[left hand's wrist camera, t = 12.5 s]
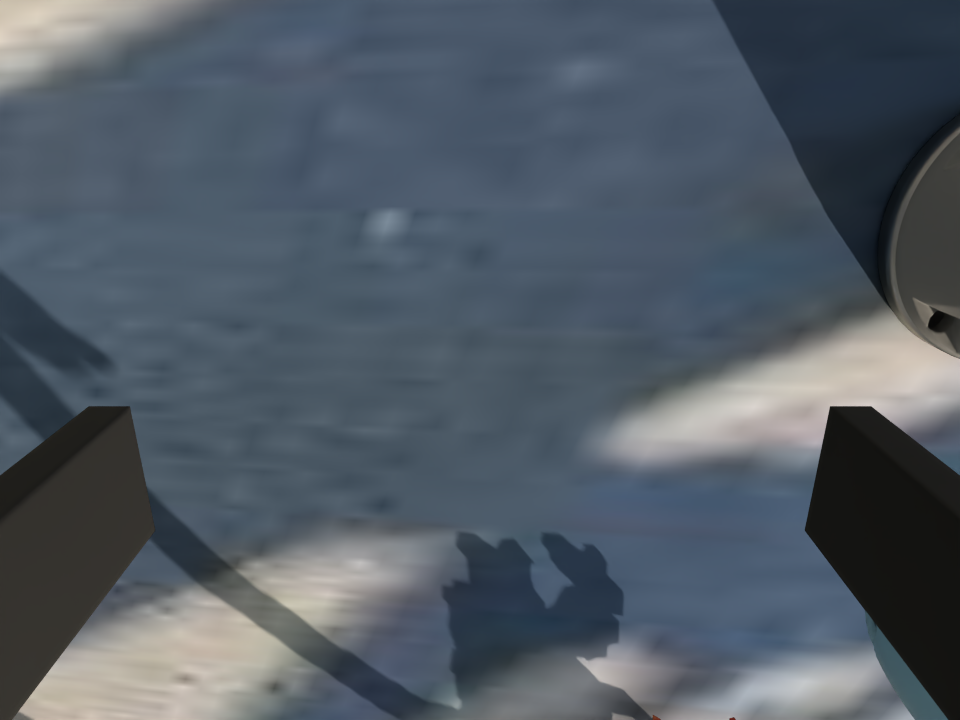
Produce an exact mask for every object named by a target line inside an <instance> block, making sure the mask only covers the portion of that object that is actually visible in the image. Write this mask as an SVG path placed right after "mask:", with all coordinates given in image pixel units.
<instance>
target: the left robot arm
mask: <svg viewBox="0 0 960 720" xmlns="http://www.w3.org/2000/svg"><path fill="white" fill-rule="evenodd" d="M878 269H879V276H880V281H881V285H882V288H883V292H884V294H885V297H886V299H887V301H888V303H889V305H890V307H891V309H892V311H893V312H894V313H895V315H896V316H897V318H898V319H899V320H900V321H901V323H902V324H903V325H904V326H905V327H906V328H907V329H908V330H910V331H911V332H912V333H913V334H914V335H916V336H917V337H919V338H920V339H922V340H923V341H925V342H927V343H928V344H930V345H932V346H934V347H936V348H938V349H940V350H941V351H943V352H945V353H947V354H949V355H951V356H954V357H956V358H959V359H960V114H959V115H957V116H956V117H955V118H954V119H952V120H951V121H950V122H948V123H947V124H946V125H945V126H944V127H942V128H941V129H940V130H939V131H938V132H937V133H936V134H935V135H934V136H933V137H932V138H931V139H930V140H929V141H928V142H927V143H926V144H925V145H924V146H923V147H922V148H921V150H920V151H919V152H918V153H917V155H916V156H915V157H914V158H913V160H912V161H911V162H910V164H909V165H908V167H907V168H906V170H905V171H904V173H903V174H902V176H901V178H900V180H899V181H898V183H897V185H896V187H895V189H894V191H893V193H892V195H891V198H890V200H889V202H888V205H887V208H886V211H885V213H884V217H883V221H882V224H881V229H880V235H879V241H878ZM154 531H155V527H154V522H153V517H152V512H151V507H150V502H149V498H148V493H147V488H146V483H145V478H144V473H143V468H142V463H141V459H140V454H139V449H138V444H137V439H136V434H135V429H134V425H133V420H132V415H131V410H130V406H89V407H88V408H86V409H85V410H84V411H82V412H81V413H80V414H79V415H77V416H76V417H75V418H73V419H72V420H71V421H70V422H68V423H67V424H66V425H64V426H63V427H62V428H61V429H59V430H58V431H57V432H55V433H54V434H53V435H52V436H50V437H49V438H48V439H46V440H45V441H44V442H43V443H41V444H40V445H39V446H38V447H36V448H35V449H34V450H32V451H31V452H30V453H29V454H27V455H26V456H25V457H23V458H22V459H21V460H20V461H18V462H17V463H16V464H14V465H13V466H12V467H11V468H9V469H8V470H7V471H5V472H4V473H3V474H2V475H0V720H12V719H13V718H14V716H15V715H16V714H17V712H18V711H19V710H20V708H21V707H22V706H23V704H24V703H25V702H26V700H27V699H28V698H29V696H30V695H31V694H32V692H33V691H34V690H35V689H36V687H37V686H38V685H39V683H40V682H41V681H42V679H43V678H44V677H45V675H46V674H47V673H48V671H49V670H50V669H51V667H52V666H53V665H54V663H55V662H56V661H57V659H58V658H59V657H60V656H61V654H62V653H63V652H64V650H65V649H66V648H67V646H68V645H69V644H70V642H71V641H72V640H73V638H74V637H75V636H76V634H77V633H78V632H79V630H80V629H81V628H82V626H83V625H84V624H85V623H86V621H87V620H88V619H89V617H90V616H91V615H92V613H93V612H94V611H95V609H96V608H97V607H98V605H99V604H100V603H101V601H102V600H103V599H104V597H105V596H106V595H107V593H108V592H109V591H110V590H111V588H112V587H113V586H114V584H115V583H116V582H117V580H118V579H119V578H120V576H121V575H122V574H123V572H124V571H125V570H126V568H127V567H128V566H129V564H130V563H131V562H132V560H133V559H134V558H135V557H136V555H137V554H138V553H139V551H140V550H141V549H142V547H143V546H144V545H145V543H146V542H147V541H148V539H149V538H150V537H151V535H152V534H153V533H154ZM805 531H806V533H807V534H808V535H809V537H810V538H811V539H812V541H813V542H814V543H815V545H816V546H817V547H818V549H819V550H820V551H821V553H822V554H823V555H824V557H825V558H826V559H827V560H828V562H829V563H830V564H831V566H832V567H833V568H834V570H835V571H836V572H837V574H838V575H839V576H840V578H841V579H842V580H843V582H844V583H845V584H846V586H847V587H848V588H849V590H850V591H851V592H852V593H853V595H854V596H855V597H856V599H857V600H858V601H859V603H860V604H861V605H862V607H863V608H864V609H865V617H866V624H867V628H868V634H869V636H870V639H871V641H872V643H873V645H874V650H875V653H876V657H877V659H878V661H879V663H880V665H881V667H882V669H883V671H884V672H885V674H886V676H887V678H888V680H889V682H890V683H891V685H892V687H893V688H894V690H895V691H896V693H897V694H898V696H899V698H900V699H901V701H902V702H903V704H904V705H905V706H906V708H907V709H908V711H909V712H910V713H911V715H912V716H913V718H914V719H915V720H960V475H958V474H957V473H956V472H955V471H953V470H952V469H951V468H949V467H948V466H947V465H946V464H944V463H943V462H942V461H940V460H939V459H938V458H937V457H935V456H934V455H933V454H931V453H930V452H929V451H928V450H926V449H925V448H924V447H922V446H921V445H920V444H919V443H917V442H916V441H915V440H914V439H912V438H911V437H910V436H908V435H907V434H906V433H905V432H903V431H902V430H901V429H899V428H898V427H897V426H896V425H894V424H893V423H892V422H890V421H889V420H888V419H887V418H885V417H884V416H883V415H881V414H880V413H879V412H878V411H876V410H875V409H874V408H872V407H871V406H830V410H829V415H828V420H827V425H826V429H825V434H824V439H823V444H822V449H821V454H820V459H819V463H818V468H817V473H816V478H815V483H814V488H813V493H812V498H811V502H810V507H809V512H808V517H807V522H806V527H805Z"/></svg>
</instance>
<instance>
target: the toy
mask: <svg viewBox="0 0 960 720" xmlns="http://www.w3.org/2000/svg"><path fill="white" fill-rule="evenodd" d="M653 720H661V719H659V718H658V717H656V716H654V715H653ZM730 720H736V719H735V718H734V717H733V718H730Z"/></svg>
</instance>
